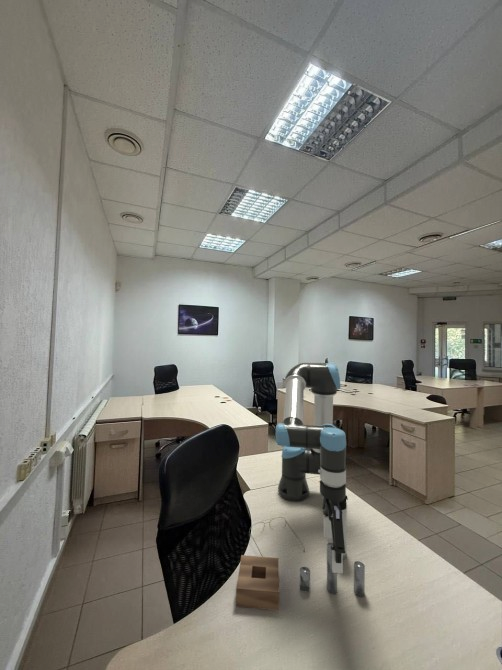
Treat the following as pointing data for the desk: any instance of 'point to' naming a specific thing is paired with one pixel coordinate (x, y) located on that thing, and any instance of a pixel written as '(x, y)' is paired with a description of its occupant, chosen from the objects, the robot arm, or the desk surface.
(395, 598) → the desk surface
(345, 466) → the robot arm
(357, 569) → the medium pin
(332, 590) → the long pin
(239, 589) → the collar block
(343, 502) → the travel mug
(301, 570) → the short pin
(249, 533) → the eyeglasses
